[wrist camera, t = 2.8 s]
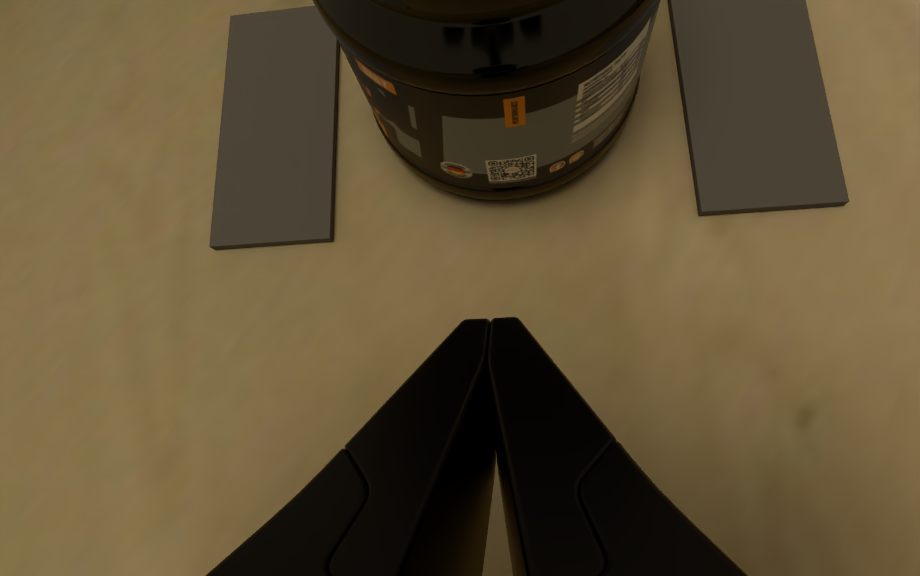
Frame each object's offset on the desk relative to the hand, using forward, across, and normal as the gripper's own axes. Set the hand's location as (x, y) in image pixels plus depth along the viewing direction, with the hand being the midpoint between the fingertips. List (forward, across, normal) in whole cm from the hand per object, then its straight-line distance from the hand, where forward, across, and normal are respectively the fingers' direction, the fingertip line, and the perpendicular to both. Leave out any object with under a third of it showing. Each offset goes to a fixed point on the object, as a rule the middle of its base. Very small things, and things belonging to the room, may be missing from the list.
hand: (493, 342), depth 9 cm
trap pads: (+17, 0, 0) cm, 17 cm away
